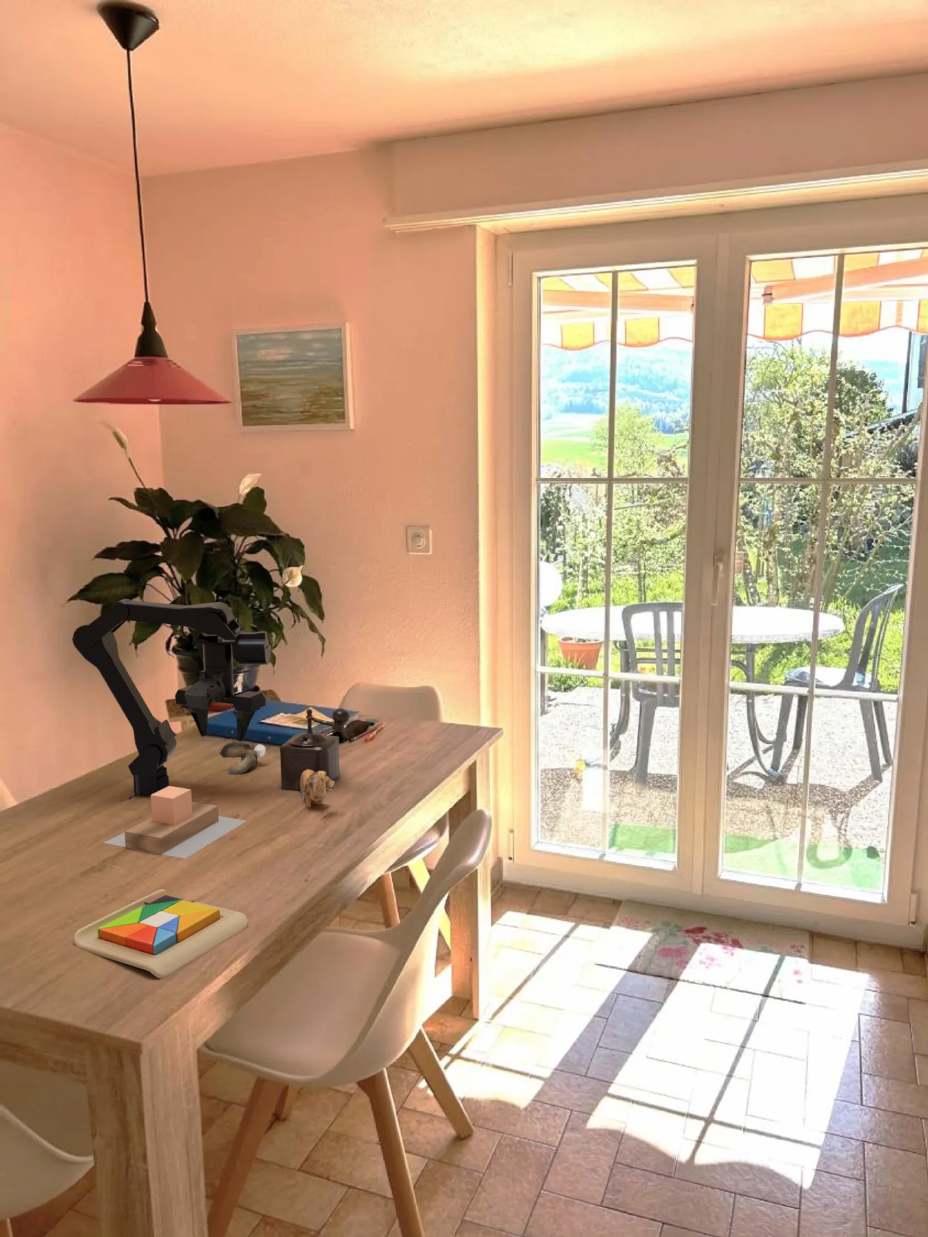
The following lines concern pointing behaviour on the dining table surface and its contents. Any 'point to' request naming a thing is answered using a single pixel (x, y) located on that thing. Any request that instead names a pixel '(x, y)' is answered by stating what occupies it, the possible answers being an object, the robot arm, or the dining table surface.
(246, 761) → the eagle figurine
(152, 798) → the cap block
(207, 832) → the build board
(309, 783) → the lion figurine
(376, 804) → the dining table surface
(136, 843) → the plinth
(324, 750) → the manual coffee grinder
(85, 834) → the dining table surface
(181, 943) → the wooden puzzle
